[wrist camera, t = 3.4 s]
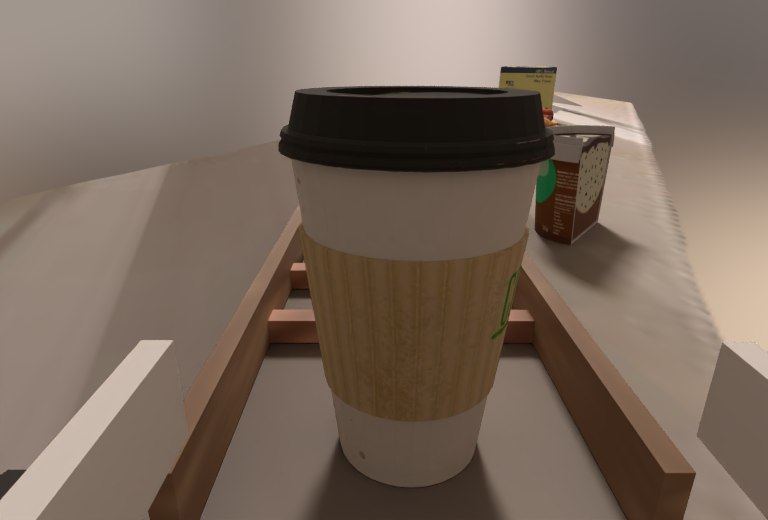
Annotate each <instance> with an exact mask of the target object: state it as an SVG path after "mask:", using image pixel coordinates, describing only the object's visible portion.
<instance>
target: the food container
mask: <svg viewBox="0 0 768 520" xmlns="http://www.w3.org/2000/svg"><path fill="white" fill-rule="evenodd" d="M547 128H549V129H550V130H552V131H553V135H554V140H553V143H554V146H555V155H554V156H553V157H552V158H550V159H549V160H546V161H543V162H541V163H540V168H539V172H538V176H537V181H536V208H535V231H536V232H537V233H538V234H539V235H541V236H543V237H545V238H547V239H550V240H553V241H556V242H559V243H563V244H568V245H572V244H573V243H574V242H575V241H576V240H577V239H579V238H580V237H581V236H582V235H583V234H584V233H586V232H587V231H588V230H589V229H590V228H591V227H593V226H594V225H595V224H596V223H597V222H598V217H599V212H600V206H601V201H602V196H603V190H604V185H605V179H606V174H607V169H608V163H609V158H610V152H611V147H613V143H614V134H615V133H614V130H615V127H612V126H589V125H569V126H551V127H547Z"/></svg>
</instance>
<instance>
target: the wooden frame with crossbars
mask: <svg viewBox="0 0 768 520" xmlns="http://www.w3.org/2000/svg"><path fill="white" fill-rule="evenodd" d="M301 220H302V217H301V211H300V206H299V205H298V207H297V208H296V210H295V212H294V213H293V215H292V217H291V219H290V220H289V222H288V224H287V225H286V227H285V229H284V230H283V232H282V234H281V236H280V237H279V239H278V241H277V242H276V244H275V246H274V247H273V249H272V251H271V252H270V254H269V256H268V258H267V259H266V261H265V263H264V264H263V266H262V268H261V269H260V271H259V273H258V275H257V276H256V278H255V280H254V281H253V283H252V285H251V286H250V288H249V290H248V291H247V293H246V295H245V297H244V298H243V300H242V302H241V303H240V305H239V307H238V308H237V310H236V312H235V313H234V315H233V317H232V319H231V320H230V322H229V324H228V325H227V327H226V329H225V330H224V332H223V334H222V336H221V337H220V339H219V341H218V342H217V344H216V346H215V347H214V349H213V351H212V352H211V354H210V356H209V358H208V359H207V361H206V363H205V364H204V366H203V368H202V369H201V371H200V373H199V375H198V376H197V378H196V380H195V381H194V383H193V385H192V386H191V388H190V390H189V391H188V393H187V395H186V397H185V398H184V400H183V401H184V407H185V413H186V420H187V426H188V432H189V435H188V436H187V438H186V440H185V442H184V444H183V446H182V448H181V450H180V452H179V453H178V455H177V457H176V459H175V461H174V463H173V465H172V467H171V468H170V470H169V472H168V474H167V476H166V478H165V480H164V482H163V484H162V485H161V487H160V489H159V491H158V493H157V495H156V497H155V499H154V501H153V502H152V504H151V506H150V508H149V510H148V513H149V517H150V520H199V519H200V516H201V514H202V511H203V509H204V506H205V504H206V501H207V499H208V496H209V494H210V491H211V489H212V486H213V484H214V481H215V479H216V476H217V474H218V471H219V469H220V466H221V464H222V461H223V459H224V456H225V454H226V451H227V449H228V446H229V444H230V441H231V439H232V436H233V434H234V431H235V429H236V426H237V424H238V421H239V419H240V416H241V414H242V411H243V409H244V406H245V404H246V401H247V399H248V396H249V394H250V391H251V389H252V386H253V384H254V381H255V379H256V376H257V374H258V371H259V369H260V366H261V364H262V361H263V359H264V356H265V354H266V351H267V349H268V346H269V344H270V343H319V339H318V333H317V328H316V322H315V317H314V311H313V310H283V309H284V306H285V304H286V301H287V299H288V296H289V294H290V291H291V289H309V283H308V278H307V272H306V267H305V261H304V263H302V261H303V259H304V256H303V250H302V245H301V239H300V234H299V223H300V221H301ZM512 307H513V308H514V310H511V311H510V316H509V320H508V324H507V328H506V332H505V337H504V341H503V343H532V344H533V345H534V347H535V349H536V351H537V353H538V355H539V356H540V358H541V360H542V362H543V364H544V366H545V368H546V369H547V371H548V373H549V375H550V377H551V379H552V380H553V382H554V384H555V386H556V388H557V390H558V392H559V393H560V395H561V397H562V399H563V401H564V403H565V404H566V406H567V408H568V410H569V412H570V414H571V416H572V417H573V419H574V421H575V423H576V425H577V427H578V428H579V430H580V432H581V434H582V436H583V438H584V440H585V441H586V443H587V445H588V447H589V449H590V451H591V452H592V454H593V456H594V458H595V460H596V462H597V464H598V465H599V467H600V469H601V471H602V473H603V475H604V476H605V478H606V480H607V482H608V484H609V486H610V488H611V489H612V491H613V493H614V495H615V497H616V499H617V500H618V502H619V504H620V506H621V508H622V510H623V512H624V513H625V515H626V517H627V519H628V520H683V517H684V514H685V510H686V507H687V503H688V500H689V496H690V492H691V489H692V485H693V482H694V478H695V475H696V472H695V471H694V470H693V468H692V467H691V466H690V464H689V463H688V462H687V461H686V459H685V458H684V457H683V455H682V454H681V453H680V451H679V450H678V449H677V448H676V446H675V445H674V444H673V442H672V441H671V440H670V438H669V437H668V436H667V435H666V433H665V432H664V431H663V429H662V428H661V427H660V425H659V424H658V423H657V422H656V420H655V419H654V418H653V416H652V415H651V414H650V413H649V411H648V410H647V409H646V407H645V406H644V405H643V403H642V402H641V401H640V400H639V398H638V397H637V396H636V394H635V393H634V392H633V390H632V389H631V388H630V387H629V385H628V384H627V383H626V381H625V380H624V379H623V377H622V376H621V375H620V374H619V372H618V371H617V370H616V368H615V367H614V366H613V364H612V363H611V362H610V361H609V359H608V358H607V357H606V355H605V354H604V353H603V352H602V350H601V349H600V348H599V346H598V345H597V344H596V342H595V341H594V340H593V339H592V337H591V336H590V335H589V333H588V332H587V331H586V329H585V328H584V327H583V326H582V324H581V323H580V322H579V320H578V319H577V318H576V316H575V315H574V314H573V313H572V311H571V310H570V309H569V307H568V306H567V305H566V303H565V302H564V301H563V300H562V298H561V297H560V296H559V294H558V293H557V292H556V291H555V289H554V288H553V287H552V285H551V284H550V283H549V281H548V280H547V279H546V278H545V276H544V275H543V274H542V272H541V271H540V270H539V268H538V267H537V266H536V265H535V263H534V262H533V261H532V259H531V258H530V257H529V255H528V254H527V253H526V252H524V256H523V260H522V265H521V269H520V273H519V277H518V282H517V286H516V290H515V294H514V299H513V303H512Z"/></svg>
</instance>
